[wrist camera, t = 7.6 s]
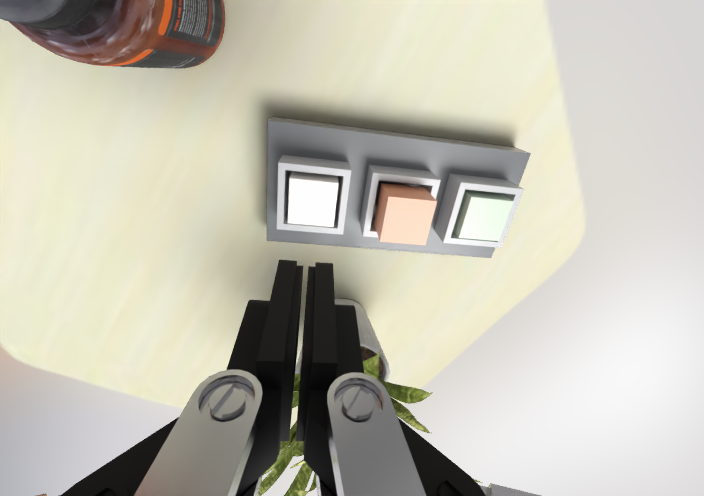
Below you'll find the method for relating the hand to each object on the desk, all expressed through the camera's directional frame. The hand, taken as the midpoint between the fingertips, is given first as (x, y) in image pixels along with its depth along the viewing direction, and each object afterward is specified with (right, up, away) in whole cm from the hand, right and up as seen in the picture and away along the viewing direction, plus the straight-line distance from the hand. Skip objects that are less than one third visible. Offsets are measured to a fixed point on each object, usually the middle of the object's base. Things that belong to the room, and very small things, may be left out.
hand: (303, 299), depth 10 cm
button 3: (+10, +5, +12) cm, 16 cm away
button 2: (+5, +4, +10) cm, 12 cm away
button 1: (-1, +6, +11) cm, 12 cm away
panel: (+4, +6, +13) cm, 15 cm away
